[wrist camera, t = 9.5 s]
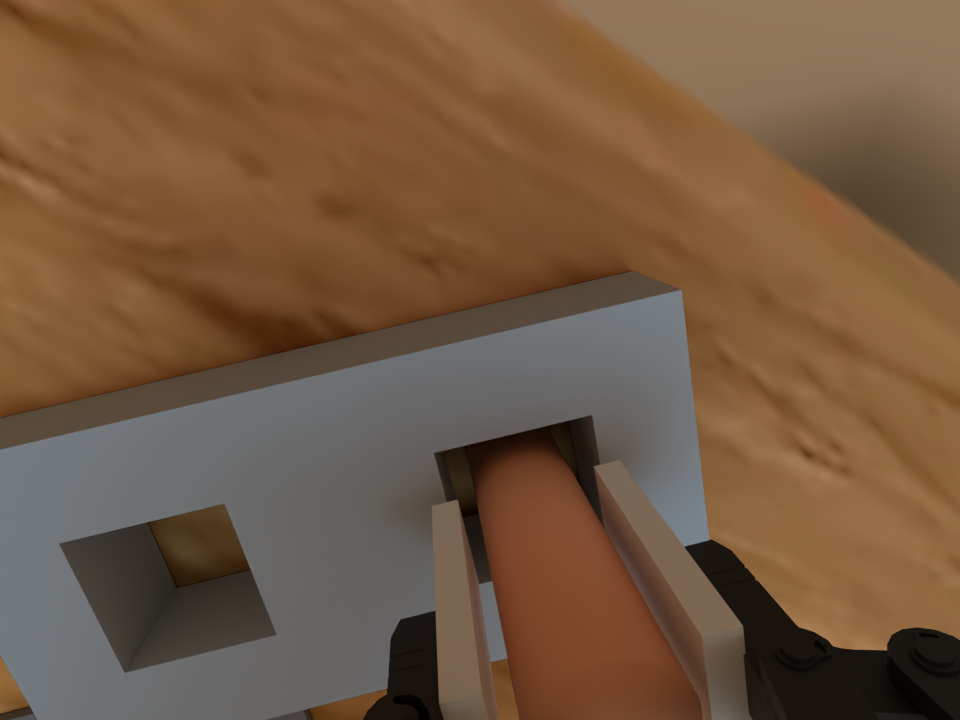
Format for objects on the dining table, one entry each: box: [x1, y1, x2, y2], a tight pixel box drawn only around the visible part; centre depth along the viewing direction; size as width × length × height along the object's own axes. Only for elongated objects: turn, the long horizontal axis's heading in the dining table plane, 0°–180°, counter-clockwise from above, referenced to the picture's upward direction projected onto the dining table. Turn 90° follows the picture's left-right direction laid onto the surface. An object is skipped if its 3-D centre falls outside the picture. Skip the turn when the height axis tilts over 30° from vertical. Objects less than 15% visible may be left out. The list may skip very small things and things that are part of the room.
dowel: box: [467, 426, 703, 720], centre depth 16 cm, size 3×3×12 cm
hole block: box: [0, 271, 709, 720], centre depth 19 cm, size 22×11×4 cm, turn 102°
